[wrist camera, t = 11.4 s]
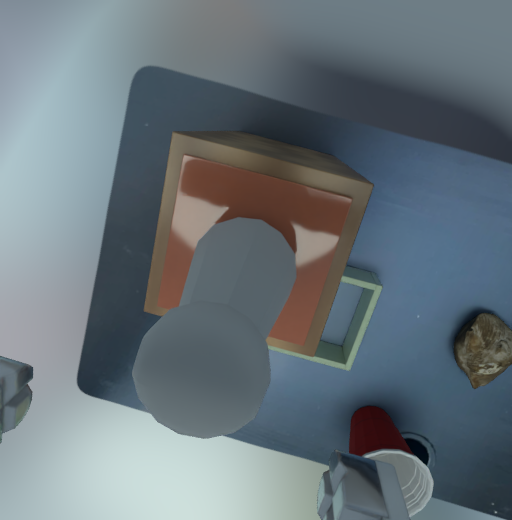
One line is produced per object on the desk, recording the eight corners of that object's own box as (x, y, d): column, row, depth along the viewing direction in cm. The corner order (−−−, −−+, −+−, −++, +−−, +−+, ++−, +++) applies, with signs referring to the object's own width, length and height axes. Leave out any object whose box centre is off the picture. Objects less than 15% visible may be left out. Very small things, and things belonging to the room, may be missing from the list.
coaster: (159, 302, 26) (156, 306, 25) (185, 152, 22) (182, 153, 22) (303, 341, 25) (303, 346, 25) (352, 196, 22) (353, 198, 22)
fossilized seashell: (454, 314, 49) (436, 372, 53) (503, 346, 43) (479, 407, 48) (493, 300, 51) (473, 356, 56) (544, 328, 46) (517, 388, 51)
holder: (260, 329, 55) (257, 346, 51) (283, 248, 51) (282, 259, 46) (345, 352, 55) (349, 371, 50) (376, 273, 50) (383, 286, 46)
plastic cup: (424, 415, 57) (455, 486, 45) (376, 459, 60) (395, 535, 49) (365, 377, 56) (382, 440, 44) (320, 424, 59) (325, 494, 48)
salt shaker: (249, 188, 22) (186, 260, 10) (316, 257, 23) (338, 403, 11) (183, 254, 24) (60, 386, 11) (248, 316, 25) (199, 500, 12)
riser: (218, 223, 51) (143, 311, 26) (238, 130, 46) (172, 131, 22) (306, 247, 50) (313, 358, 26) (334, 155, 46) (374, 184, 22)
